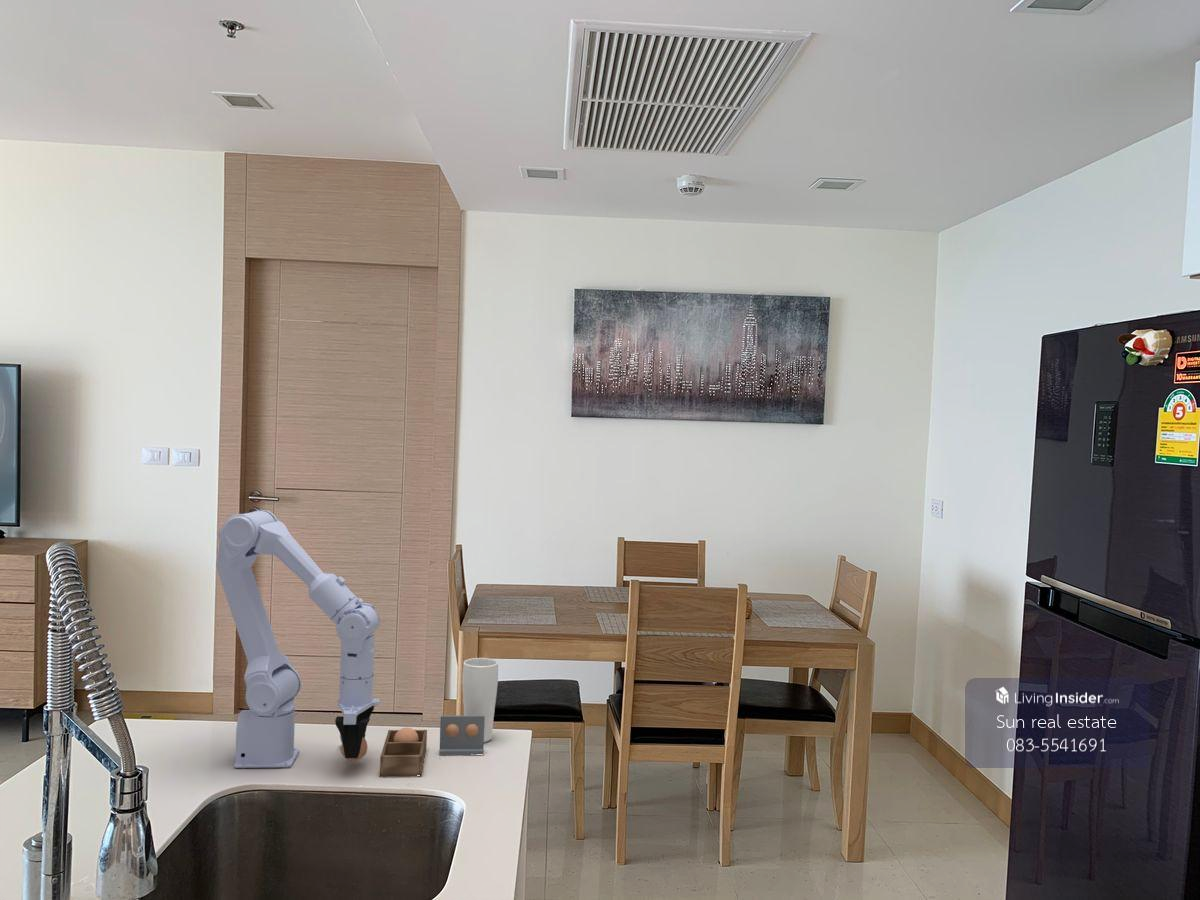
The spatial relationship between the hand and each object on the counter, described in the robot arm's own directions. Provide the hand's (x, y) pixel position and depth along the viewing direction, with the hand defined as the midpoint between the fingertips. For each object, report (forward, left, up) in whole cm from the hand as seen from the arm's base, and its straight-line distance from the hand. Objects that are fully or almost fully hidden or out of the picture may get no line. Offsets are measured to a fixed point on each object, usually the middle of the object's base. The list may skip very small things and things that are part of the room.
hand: (353, 752), depth 160 cm
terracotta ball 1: (0, 0, +1) cm, 1 cm away
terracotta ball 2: (+9, +5, 0) cm, 10 cm away
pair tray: (+9, +1, -2) cm, 9 cm away
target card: (+19, +6, -2) cm, 20 cm away
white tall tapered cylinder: (+22, +13, -3) cm, 25 cm away
